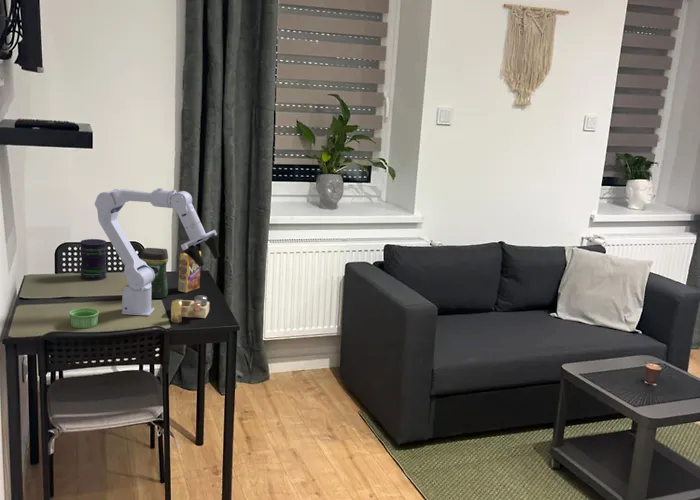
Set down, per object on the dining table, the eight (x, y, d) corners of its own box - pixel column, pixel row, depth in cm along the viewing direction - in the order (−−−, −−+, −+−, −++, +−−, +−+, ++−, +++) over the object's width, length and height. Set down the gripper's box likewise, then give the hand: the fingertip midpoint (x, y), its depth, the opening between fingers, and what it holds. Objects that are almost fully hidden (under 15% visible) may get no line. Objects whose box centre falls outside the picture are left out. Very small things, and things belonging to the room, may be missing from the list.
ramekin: (96, 319, 229) (96, 306, 228) (100, 328, 222) (100, 315, 221) (68, 321, 225) (67, 308, 224) (71, 330, 217) (71, 317, 217)
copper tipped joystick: (189, 311, 233) (189, 303, 233) (195, 302, 244) (195, 294, 243) (202, 312, 234) (202, 304, 233) (207, 302, 244) (208, 295, 244)
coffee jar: (169, 293, 263) (170, 246, 259) (164, 299, 256) (165, 251, 252) (144, 292, 263) (144, 245, 259) (138, 298, 255) (139, 249, 251)
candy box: (186, 293, 266) (187, 255, 262) (177, 291, 267) (178, 253, 264) (200, 288, 274) (201, 251, 270) (191, 286, 275) (192, 249, 272)
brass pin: (170, 322, 232) (170, 302, 230) (172, 319, 235) (172, 299, 234) (180, 323, 232) (180, 303, 231) (182, 319, 235) (182, 300, 234)
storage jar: (76, 279, 272) (75, 243, 268) (86, 273, 281) (86, 238, 278) (100, 281, 271) (100, 245, 268) (110, 275, 281) (110, 240, 278)
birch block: (170, 315, 238) (171, 306, 238) (175, 308, 246) (175, 299, 245) (205, 318, 239) (205, 308, 238) (209, 311, 247) (209, 301, 246)
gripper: (183, 229, 222) (201, 267, 224) (214, 215, 233) (231, 251, 235) (171, 234, 227) (188, 271, 228) (202, 220, 237) (219, 256, 239)
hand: (209, 261), depth 232 cm, fingers open, 7 cm apart
